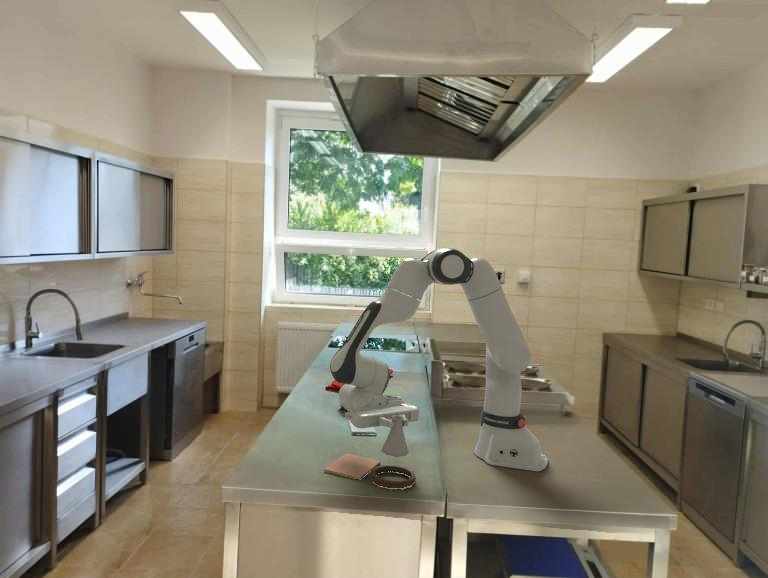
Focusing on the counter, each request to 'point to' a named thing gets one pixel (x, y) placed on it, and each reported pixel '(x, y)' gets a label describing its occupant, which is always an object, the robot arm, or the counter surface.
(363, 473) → the terracotta pad
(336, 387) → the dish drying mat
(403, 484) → the ring holder
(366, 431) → the hard drive
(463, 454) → the counter surface
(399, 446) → the flask
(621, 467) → the counter surface
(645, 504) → the counter surface
